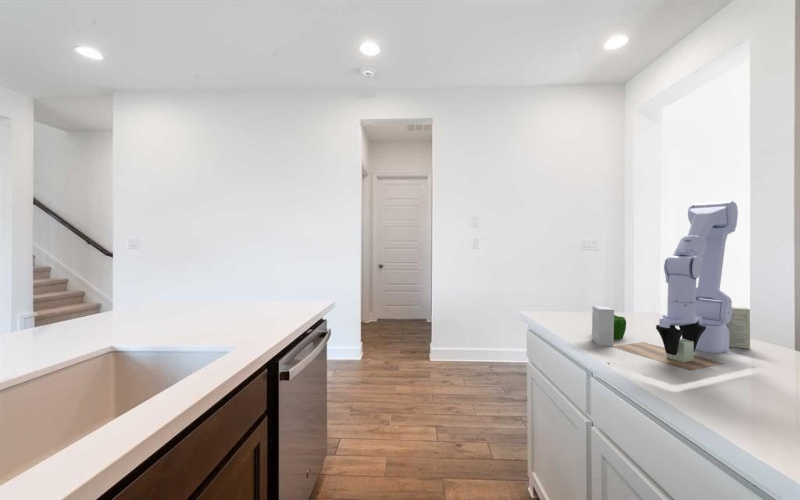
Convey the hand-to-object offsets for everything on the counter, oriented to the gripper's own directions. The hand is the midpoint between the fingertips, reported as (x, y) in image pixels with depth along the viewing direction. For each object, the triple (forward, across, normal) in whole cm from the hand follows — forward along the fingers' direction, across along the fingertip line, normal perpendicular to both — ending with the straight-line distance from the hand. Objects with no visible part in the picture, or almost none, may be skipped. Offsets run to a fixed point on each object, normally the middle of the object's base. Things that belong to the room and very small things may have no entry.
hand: (680, 352), depth 89 cm
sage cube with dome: (+2, 0, 0) cm, 2 cm away
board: (+3, 0, -4) cm, 5 cm away
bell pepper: (+3, -4, -22) cm, 23 cm away
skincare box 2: (+3, -34, -4) cm, 35 cm away
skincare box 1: (+3, +6, -18) cm, 19 cm away
